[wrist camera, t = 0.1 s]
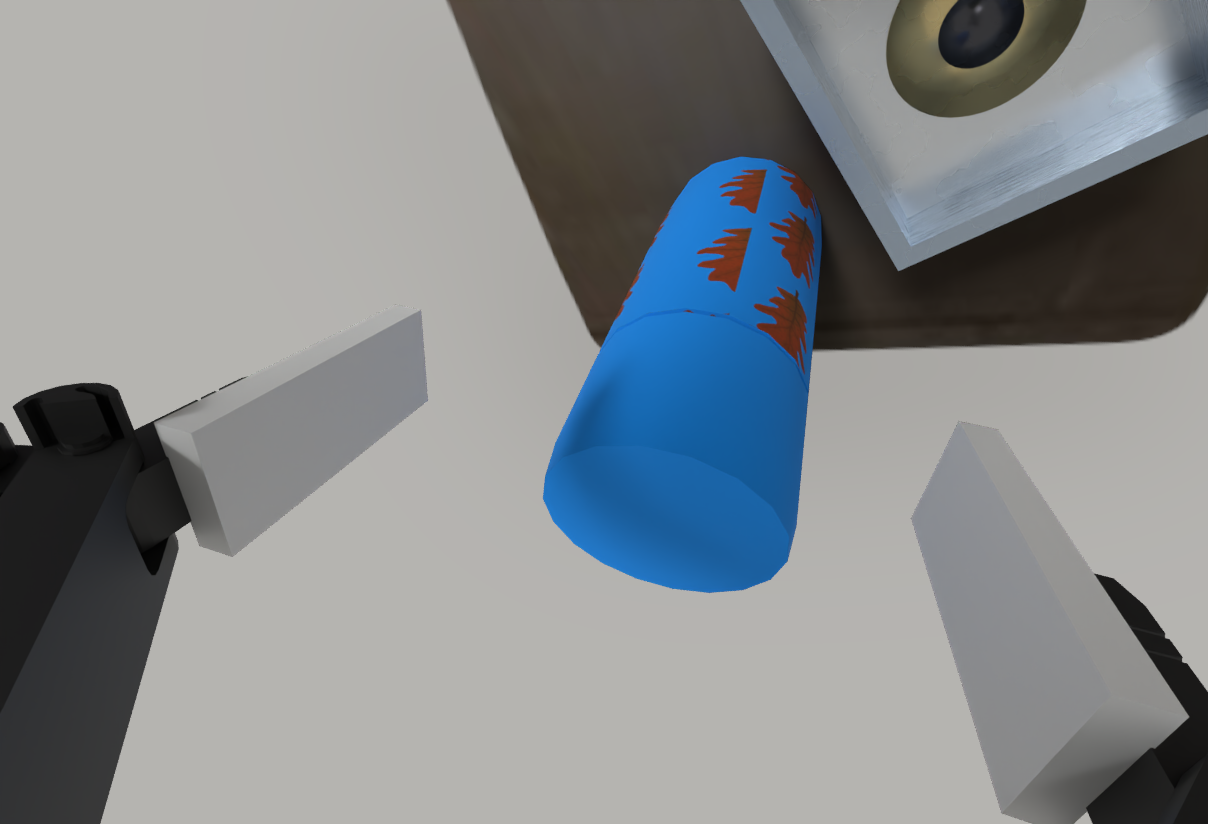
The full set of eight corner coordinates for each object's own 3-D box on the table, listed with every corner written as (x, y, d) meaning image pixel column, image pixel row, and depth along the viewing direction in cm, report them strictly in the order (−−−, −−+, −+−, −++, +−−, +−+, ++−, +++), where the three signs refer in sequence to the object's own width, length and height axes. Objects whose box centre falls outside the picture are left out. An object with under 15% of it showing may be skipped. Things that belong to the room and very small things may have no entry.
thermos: (718, 316, 45) (639, 600, 29) (638, 210, 40) (491, 477, 24) (852, 254, 38) (846, 584, 22) (774, 117, 33) (692, 407, 17)
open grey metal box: (1077, -381, 19) (1169, -462, 13) (1185, 57, 26) (1278, 127, 20) (752, -62, 28) (724, -28, 22) (899, 205, 35) (906, 285, 29)
